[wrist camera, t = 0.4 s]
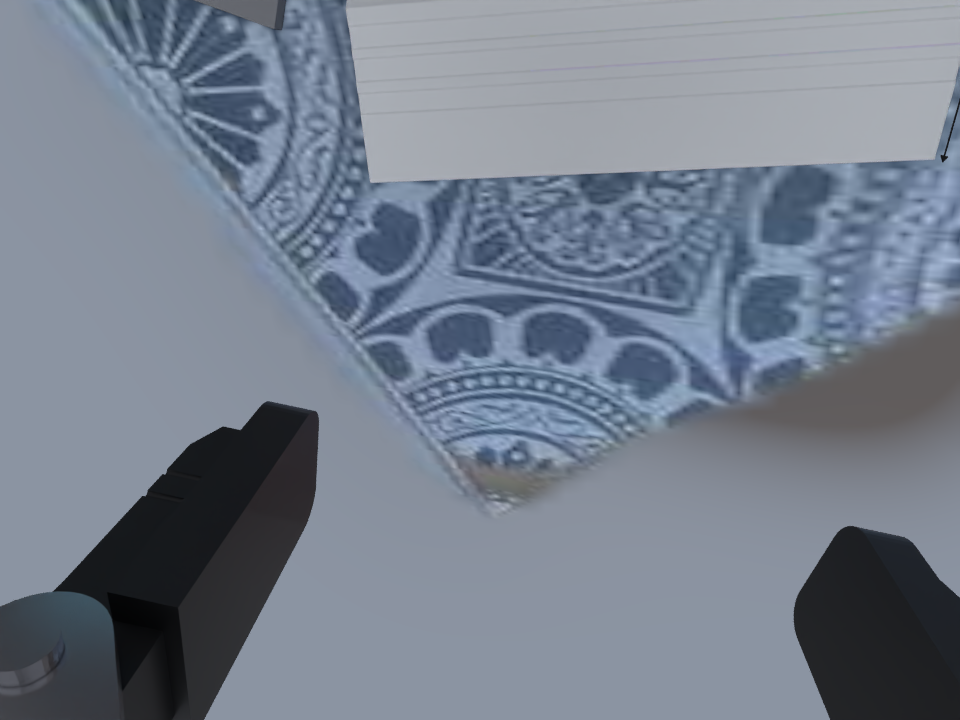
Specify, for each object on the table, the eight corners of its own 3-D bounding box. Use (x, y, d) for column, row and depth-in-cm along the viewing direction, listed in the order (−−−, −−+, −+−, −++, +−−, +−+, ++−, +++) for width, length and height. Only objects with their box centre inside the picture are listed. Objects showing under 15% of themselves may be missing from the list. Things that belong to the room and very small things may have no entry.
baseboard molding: (345, -55, 31) (377, 178, 37) (327, -65, 29) (363, 187, 34) (992, -116, 27) (920, 155, 33) (1037, -134, 25) (951, 164, 30)
